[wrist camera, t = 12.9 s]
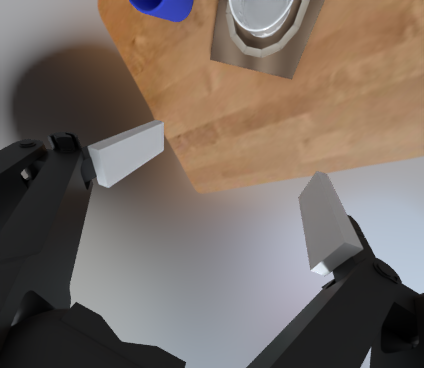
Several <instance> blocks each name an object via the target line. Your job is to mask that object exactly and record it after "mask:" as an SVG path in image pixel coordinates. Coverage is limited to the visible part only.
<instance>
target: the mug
mask: <svg viewBox="0 0 424 368" xmlns="http://www.w3.org/2000/svg"><path fill="white" fill-rule="evenodd" d="M129 1H130V3H131V4H132V5H133V6H134V7H135V8H136V9H137V10H139V11H140V12H142V13H145V14H148V15H152V16H155V17H159V18H162V19H166V20H170V21H173V22H179V21H182V20H184V19H185V18H186V17H187V16H188V15H189V13H190V11H191V9H192V5H193V0H129Z"/></svg>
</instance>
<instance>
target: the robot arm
mask: <svg viewBox="0 0 424 368" xmlns="http://www.w3.org/2000/svg"><path fill="white" fill-rule="evenodd" d="M47 137H48V139H49V142H50V144H51V146H52V148H53V150H50V149H46V148H45V145H44V143H43V142H42V141H40V140H31V139H27V140H26V139H25V140H22V141H18V142H15V143H13V144H11V145H9V146H7V147H5V148H3V149H2V150H0V368H185V365H186V362H185V361H183V360H181V359H179V358H177V357H175V356H174V355H172V354H170V353H168V352H166V351H164V350H163V349H161V348H159V347H157V346H150V345H143V344H135V343H127V342H122V341H121V340H120V339H119V338H118V337H117V335H116V334H115V333H114V332H113V330H112V329H111V328H110V327H109V325H108V324H107V323H106V322H105V320H104V319H103V318H102V316H100V315H99V314H97V313H95V312H93V311H92V310H90V309H88V308H86V307H84V306H83V305H81V304H79V303H77V302H76V303H75V304H74V305H73V306H72V307H71V308H70V304H71V296H70V289H69V288H70V281H71V277H72V272H73V268H74V264H75V259H76V255H77V251H78V247H79V242H80V238H81V234H82V229H83V225H84V221H85V217H86V212H87V208H88V204H89V199H90V195H91V191H92V187H93V182H92V179H93V178H95V177H97V180H98V183H99V184H100V185H103V186H105V187H107V188H109V187H111V186H112V185H113V184H115V183H116V182H118V181H119V180H121V179H122V178H124V177H125V176H127V175H128V174H130V173H131V172H133V171H134V170H135V169H137V168H138V167H140V166H141V165H143V164H144V163H146V162H147V161H148V160H150V159H152V158H153V157H155V156H156V155H158V154H159V153H161V152H162V151H163V150H164V122H162V121H158V120H154V121H152V122H149V123H147V124H144V125H141V126H139V127H137V128H134V129H131V130H128V131H126V132H123V133H121V134H118V135H115V136H113V137H109V138H107V139H104V140H101V141H99V142H96V143H93V144H91V145H88V146H85V147H83V148H81V145H80V142H79V139H78V136H77V135H76V134H74V133H71V132H58V133H54V134H50V135H49V136H47ZM24 169H25V171H26V173H27V174H28V176H29V177H28V178H27V179H24V178H23V176H22V175H21V172H22V171H23V170H24ZM299 203H300V210H301V216H302V221H303V228H304V234H305V240H306V246H307V252H308V258H309V264H310V270H311V271H313V272H316V273H318V274H321V275H323V276H326V275H328V274H329V273H330V272H332V271H333V275H334V278H335V279H333V280H332V281H330V282H329V283H327V284H326V285H324V286H323V287H322V288H323V289H322V290H321V291H320V293H319V294H317V295H316V297H315V298H314V299H313V300H312V301H311V302H310V303H309V304H308V305H307V306H306V307H305V308H304V309H303V310H302V311H301V312H300V313H299V314H298V315H297V316H296V317H295V318H294V319H293V320H292V321H291V322H290V323H289V325H287V326H286V327H285V329H283V330H282V332H281V333H280V334H279V335H278V336H277V337H276V338H275V339H274V340H273V341H272V342H271V343H270V344H269V345H268V346H267V347H266V348H265V349H264V350H263V351H262V352H261V353H260V354H259V355H258V356H257V357H256V358H255V359H254V361H252V363H250V364H249V365H248V366H247V367H246V368H360V367H361V364H362V363H363V361H364V359H365V357H366V355H367V353H368V351H369V349H370V348H371V357H370V368H424V293H422V294H418V293H417V292H415V291H413V290H412V289H410V288H408V287H407V286H405V285H404V284H402V281H401V280H400V277H399V276H398V274H397V273H396V272H395V271H394V270H393V269H392V268H391V267H390V266H389V265H388V264H386V263H385V262H383V261H382V260H380V259H378V258H376V257H375V255H374V253H373V251H372V249H371V247H370V246H369V244H368V242H367V240H366V238H364V237H365V236H364V234H363V232H361V229H360V227H359V225H358V223H357V222H356V221H355V220H354V219H353V218H352V217H351V216H349V215H347V214H346V212H345V210H344V208H343V206H342V204H341V202H340V199H339V197H338V195H337V193H336V191H335V189H334V187H333V185H332V183H331V181H330V179H329V177H328V175H327V174H325V173H322V172H318V171H317V172H316V173H315V174H314V176H313V177H312V179H311V180H310V182H309V183H308V184H307V186H306V187H305V189H304V190H303V192H302V193H301V195H300V196H299Z"/></svg>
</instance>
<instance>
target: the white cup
mask: <svg viewBox="0 0 424 368" xmlns="http://www.w3.org/2000/svg"><path fill="white" fill-rule="evenodd" d="M293 2H294V0H229V5H230V9H231V12H232V14H233V16H234V18H235V20H236V21H237V23H238V24H239V25H240V26H241V27H243V28H244V29H245V30H246V31H247V32H249V33H250V34H252V35H254V36H256V37H260V38H265V37H269V36H272V35H273V34H274V33H275V32H277V31H278V30H279V29H280V28H281V27H282V25H283V23H284V21H285V20H286V18H287V16H288V14H289V12H290V10H291V7H292V5H293Z"/></svg>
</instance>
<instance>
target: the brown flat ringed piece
mask: <svg viewBox="0 0 424 368" xmlns="http://www.w3.org/2000/svg"><path fill="white" fill-rule="evenodd" d="M323 3H324V0H294V2H293V5H292V7H291V10H290V12H289V14H288V16H287V18H286V20H285V21H284V23H283V25H282V27H281V28H280V29H279V30H278V31H277V32H275V33H274V34H273V35H272V36H269V37H265V38H260V37H256V36H254V35H252V34H250V33H249V32H247V31H246V30H245V29H244V28H243V27H241V26H240V25H239V24H238V23H237V21H236V20H235V18H234V16H233V14H232V12H231V9H230V5H229V0H219V3H218V9H217V16H216V23H215V30H214V37H213V44H212V51H211V58H210V60H214V61H218V62H222V63H226V64H230V65H234V66H239V67H243V68H247V69H251V70H255V71H259V72H263V73H267V74H271V75H275V76H280V77H284V78H288V79H292V77H293V75H294V73H295V70H296V68H297V65H298V63H299V61H300V58H301V56H302V53H303V51H304V49H305V46H306V44H307V41H308V39H309V36H310V34H311V32H312V29H313V27H314V24H315V22H316V20H317V17H318V15H319V12H320V10H321V8H322V5H323Z"/></svg>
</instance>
